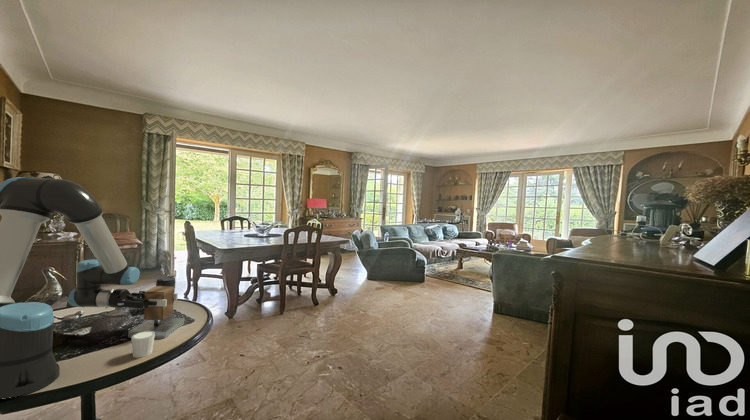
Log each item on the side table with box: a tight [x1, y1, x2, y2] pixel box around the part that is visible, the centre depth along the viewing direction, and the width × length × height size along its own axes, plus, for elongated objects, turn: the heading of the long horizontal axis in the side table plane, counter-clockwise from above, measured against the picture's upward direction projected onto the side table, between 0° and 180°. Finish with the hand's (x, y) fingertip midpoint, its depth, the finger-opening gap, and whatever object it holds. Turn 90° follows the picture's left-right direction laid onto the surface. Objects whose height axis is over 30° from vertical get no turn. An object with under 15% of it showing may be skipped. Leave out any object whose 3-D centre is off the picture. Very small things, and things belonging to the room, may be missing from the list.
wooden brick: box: [143, 285, 175, 321], centre depth 126 cm, size 7×7×12 cm
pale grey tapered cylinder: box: [131, 331, 155, 359], centre depth 108 cm, size 7×7×7 cm
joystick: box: [127, 317, 185, 339], centre depth 126 cm, size 14×14×10 cm
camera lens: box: [155, 276, 176, 293], centre depth 151 cm, size 8×8×15 cm
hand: (171, 299), depth 127 cm, fingers closed on wooden brick, 7 cm apart
